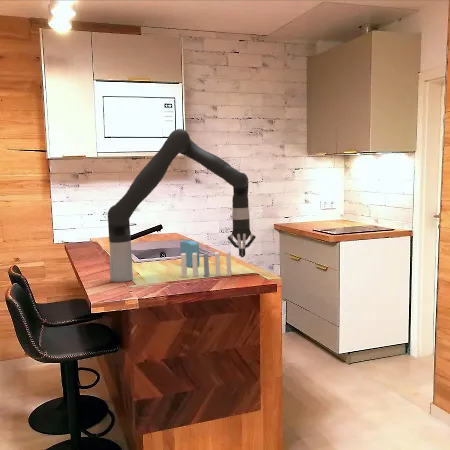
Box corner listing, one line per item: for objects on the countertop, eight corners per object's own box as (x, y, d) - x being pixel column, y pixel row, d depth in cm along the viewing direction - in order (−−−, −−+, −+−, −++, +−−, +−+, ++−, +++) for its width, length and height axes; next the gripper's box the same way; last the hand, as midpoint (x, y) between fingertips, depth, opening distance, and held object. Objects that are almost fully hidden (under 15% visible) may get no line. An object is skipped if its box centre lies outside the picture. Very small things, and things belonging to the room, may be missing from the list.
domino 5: (226, 275, 222) (225, 253, 221) (227, 273, 227) (226, 251, 226) (231, 275, 222) (230, 253, 221) (231, 273, 227) (230, 251, 226)
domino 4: (215, 276, 222) (214, 253, 221) (216, 274, 227) (215, 252, 226) (219, 276, 222) (218, 253, 221) (220, 273, 227) (219, 251, 226)
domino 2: (192, 277, 223) (191, 254, 222) (194, 274, 228) (192, 252, 227) (197, 276, 223) (196, 254, 222) (198, 274, 228) (197, 252, 227)
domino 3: (204, 276, 223) (203, 254, 222) (205, 274, 228) (204, 252, 227) (208, 276, 223) (207, 254, 222) (209, 274, 228) (208, 252, 226)
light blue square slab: (199, 266, 247) (198, 242, 246) (191, 267, 245) (190, 243, 244) (189, 263, 258) (187, 239, 256) (181, 264, 255) (179, 240, 254)
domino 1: (181, 277, 223) (180, 255, 222) (183, 275, 228) (181, 253, 227) (185, 277, 223) (184, 254, 222) (187, 274, 228) (186, 253, 227)
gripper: (255, 216, 225) (256, 255, 227) (226, 217, 226) (227, 256, 228) (256, 218, 218) (257, 257, 220) (225, 219, 218) (227, 258, 220)
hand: (242, 256), depth 224 cm, fingers closed
